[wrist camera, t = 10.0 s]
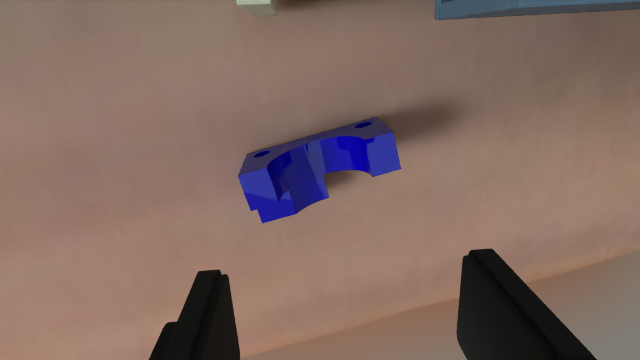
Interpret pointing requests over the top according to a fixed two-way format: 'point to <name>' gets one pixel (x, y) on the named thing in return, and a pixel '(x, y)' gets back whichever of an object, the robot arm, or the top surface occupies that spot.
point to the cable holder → (314, 166)
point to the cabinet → (524, 7)
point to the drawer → (259, 7)
